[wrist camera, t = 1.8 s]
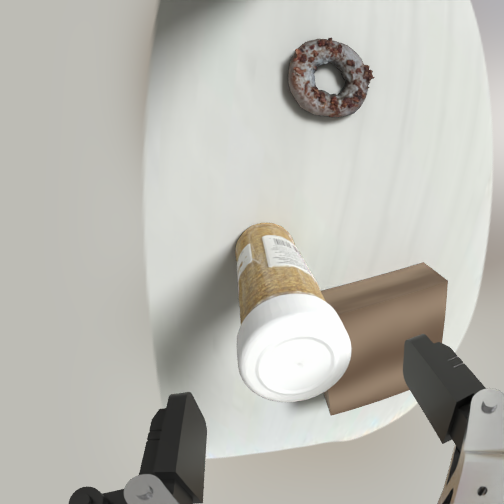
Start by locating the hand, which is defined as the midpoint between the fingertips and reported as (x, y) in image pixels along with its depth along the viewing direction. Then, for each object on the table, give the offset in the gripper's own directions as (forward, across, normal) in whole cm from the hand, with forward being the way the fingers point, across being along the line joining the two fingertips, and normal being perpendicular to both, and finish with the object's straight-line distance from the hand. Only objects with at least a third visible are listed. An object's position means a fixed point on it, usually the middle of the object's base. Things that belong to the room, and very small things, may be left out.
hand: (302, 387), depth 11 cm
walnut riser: (+15, -8, +10) cm, 19 cm away
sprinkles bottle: (+15, 0, 0) cm, 15 cm away
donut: (+15, -7, -12) cm, 21 cm away
